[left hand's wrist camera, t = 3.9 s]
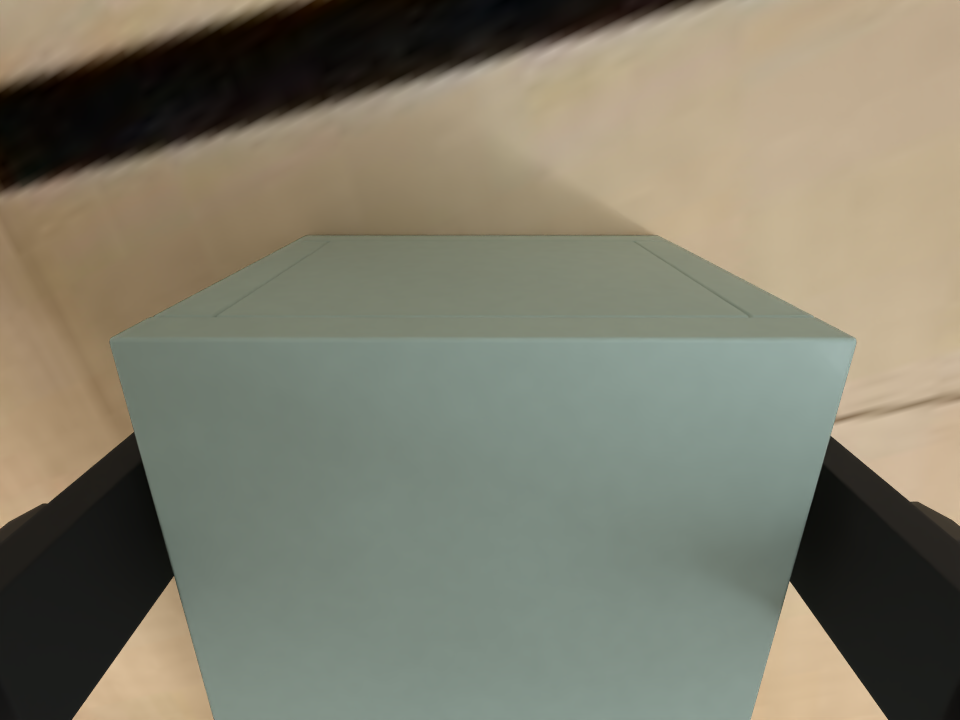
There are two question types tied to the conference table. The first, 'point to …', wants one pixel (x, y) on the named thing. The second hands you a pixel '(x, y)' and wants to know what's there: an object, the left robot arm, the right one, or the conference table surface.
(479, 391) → the cabinet
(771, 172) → the conference table surface
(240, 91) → the conference table surface
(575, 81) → the conference table surface
